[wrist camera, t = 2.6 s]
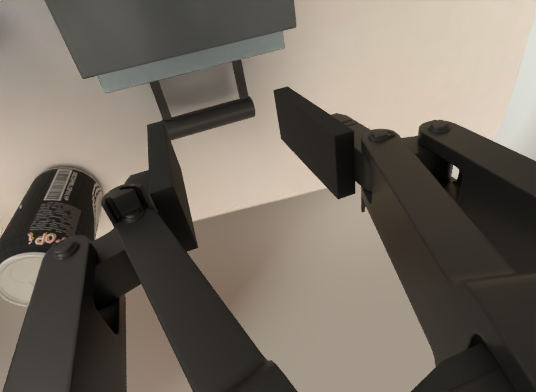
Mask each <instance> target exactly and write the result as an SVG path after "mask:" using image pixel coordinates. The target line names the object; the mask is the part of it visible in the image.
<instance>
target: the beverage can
mask: <svg viewBox="0 0 536 392" xmlns="http://www.w3.org/2000/svg"><path fill="white" fill-rule="evenodd" d="M102 198H103V195H102V190H101V187H100V186H99V184H98V182H97V181H96V180H95V179H94V178H93V177H91V176H90V175H89V174H87V173H85V172H83V171H81V170H78V169H74V168H68V167H59V168H53V169H50V170H47V171H45V172H43V173H41V174H40V175H39V176H38V177H36V178H35V180H34V181H33V183H32V185H31V186H30V188H29V190H28V191H27V193H26V195H25V197H24V198H23V200H22V202H21V204H20V205H19V207H18V209H17V210H16V212H15V214H14V216H13V217H12V219H11V221H10V223H9V224H8V226H7V228H6V229H5V231H4V233H3V235H2V236H1V238H0V296H1V297H2V298H3V299H5V300H6V301H8V302H11V303H13V304H15V305H20V306H25V307H28V305H29V302H30V299H31V296H32V292H33V289H34V286H35V282H36V279H37V276H38V272H39V269H40V266H41V262H42V259H43V257H44V255H45V253H46V252H47V251H48V250H49V249H50V248H51V247H52V246H53V245H54V244H56V243H58V242H59V241H61V240H63V239H66V238H68V237H71V236H76V235H84V236H86V237H88V238H89V240H90V241H91V242H92V241H94V240H95V236H96V231H97V226H98V221H99V216H100V211H101V200H102Z"/></svg>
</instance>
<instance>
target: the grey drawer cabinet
mask: <svg viewBox="0 0 536 392" xmlns="http://www.w3.org/2000/svg"><path fill="white" fill-rule="evenodd" d="M45 2H46V4H47V6H48V8H49V10H50V12H51V14H52V16H53V18H54V21H55V23H56V25H57V27H58V29H59V31H60V33H61V35H62V37H63V39H64V41H65V43H66V45H67V47H68V50H69V52H70V54H71V56H72V58H73V60H74V62H75V64H76V66H77V68H78V70H79V72H80V74H81V76H82V78H83V79H86V78H90V77H94V76H98V75H102V74H106V73H111V72H115V71H119V70H123V69H127V68H131V67H135V66H139V65H144V64H148V63H152V62H156V61H160V60H164V59H168V58H172V57H176V56H181V55H185V54H189V53H193V52H197V51H201V50H205V49H209V48H214V47H218V46H222V45H226V44H230V43H234V42H238V41H242V40H247V39H251V38H255V37H259V36H263V35H267V34H271V33H275V32H279V31H284V30H288V29H292V28H295V27H296V17H295V8H294V0H45Z"/></svg>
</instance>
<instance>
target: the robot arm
mask: <svg viewBox="0 0 536 392" xmlns="http://www.w3.org/2000/svg"><path fill="white" fill-rule="evenodd" d="M274 96H275V103H276V109H277V115H278V122H279V128H280V134H281V139H282V140H283V141H284V142H285V143H286V144H287V146H288V147H289V148H290V149H291V150H292V151H293V152H294V153H295V154H296V155H297V156H298V157H299V158H300V159H301V160H302V161H303V163H304V164H305V165H306V166H307V167H308V168H309V169H310V170H311V171H312V172H313V173H314V174H315V175H316V176H317V177H318V178H319V180H320V181H321V182H322V183H323V184H324V185H325V186H326V187H327V188H328V189H329V190H330V191H331V192H332V193H333V194H334V195H335V196H336V198H337V199H340V198H343V197H346V196H349V195H352V194H355V181H356V182H357V183H358V184H360V185H361V210H362V212H364V211H365V207H367V209H368V212H369V214H370V216H371V218H372V220H373V222H374V225H375V227H376V229H377V231H378V233H379V235H380V238H381V240H382V242H383V244H384V246H385V248H386V251H387V253H388V255H389V257H390V259H391V262H392V264H393V266H394V268H395V270H396V272H397V274H398V277H399V279H400V281H401V283H402V285H403V288H404V290H405V292H406V294H407V296H408V298H409V301H410V303H411V305H412V307H413V309H414V311H415V313H416V316H417V318H418V320H419V322H420V324H421V327H422V329H423V331H424V333H425V335H426V337H427V339H428V342H429V344H430V346H431V349H432V351H433V355H434V358H435V364H436V368H435V369H434V370H433V371H432V372H431V373H430V374H429V375H428V376H427V377H426V378H425V379H424V380H422V381H421V382H420V383H419V384H418V386H416V387H415V388H414V389H413V390H412V391H411V392H536V161H534V160H532V159H530V158H528V157H526V156H524V155H521V154H519V153H517V152H515V151H513V150H510V149H508V148H506V147H504V146H502V145H500V144H498V143H495V142H493V141H491V140H489V139H487V138H485V137H483V136H481V135H478V134H476V133H474V132H472V131H470V130H468V129H466V128H463V127H461V126H459V125H457V124H455V123H452V122H448V121H443V120H438V121H437V120H433V121H430V122H426V123H423V124H422V125H421V126H420V127H419V133H418V136H414V137H406V138H401V137H400V136H399V135H398V134H397V133H396V132H394V131H392V130H388V129H374V130H369V129H368V128H366V127H365V126H363V125H361V124H360V123H359V124H358V122H356V121H355V120H353V119H351V118H350V117H348V116H346V115H342V114H338V113H336V114H333V115H330V114H328V113H327V112H325V111H324V110H322V109H321V108H319V107H318V106H316V105H315V104H313V103H312V102H310V101H309V100H307V99H306V98H304V97H302V96H301V95H299V94H298V93H296V92H295V91H293V90H292V89H290V88H289V87H284V88H280V89H277V90H274ZM147 132H148V160H149V170H147V171H144V172H140V173H137V174H134V175H130V177H129V178H128V179H127V181H126V182H125V184H124V185H121V186H118V187H116V188H114V189H112V190H110V191H109V192H108V193H107V194H105V195H104V197H103V198H102V200H101V205H102V207H103V208H104V210H105V212H106V213H107V215H108V217H109V219H110V220H111V222H112V224H113V226H114V229H113V230H111V231H110V232H109V233H107V234H105V235H104V236H102V237H100V238H98V239H96V240H94V241H92V242H91V241H90V240H89V238H88V237H86V236H84V235H76V236H71V237H68V238H66V239H63V240H61V241H59V242H58V243H56V244H54V245H53V246H52V247H51V248H50V249H49V250H48V251H47V252H46V253H45V255H44V257H43V259H42V262H41V266H40V269H39V272H38V276H37V279H36V282H35V286H34V289H33V292H32V296H31V299H30V302H29V305H28V309H27V312H26V315H25V319H24V322H23V326H22V329H21V332H20V335H19V339H18V342H17V345H16V349H15V352H14V355H13V358H12V362H11V365H10V369H9V372H8V375H7V378H6V382H5V385H4V388H3V392H126V391H127V389H126V388H127V386H126V301H125V299H126V297H125V293H127V292H129V291H130V290H132V289H133V288H135V287H137V286H138V285H140V284H142V286H143V288H144V290H145V292H146V294H147V297H148V299H149V301H150V303H151V305H152V307H153V309H154V311H155V313H156V315H157V317H158V320H159V322H160V324H161V326H162V328H163V330H164V332H165V334H166V336H167V338H168V340H169V342H170V344H171V347H172V349H173V351H174V353H175V355H176V357H177V359H178V361H179V363H180V365H181V367H182V369H183V372H184V374H185V376H186V378H187V380H188V382H189V384H190V386H191V388H192V390H193V392H297V391H296V389H295V388H294V386H293V385H292V384H291V383H290V381H289V380H288V379H287V377H286V376H285V375H284V373H283V372H282V371H281V370H280V369H279V367H278V366H277V365H276V364H275V363H274V362H273V361H268V360H267V359H266V358H265V357H264V356H263V355H262V354H261V353H260V351H259V350H258V348H257V347H256V346H255V344H254V343H253V341H252V340H251V339H250V337H249V336H248V335H247V333H246V332H245V331H244V330H243V328H242V327H241V325H240V324H239V323H238V321H237V320H236V318H235V317H234V316H233V314H232V313H231V312H230V310H229V309H228V308H227V306H226V305H225V304H224V302H223V301H222V300H221V298H220V297H219V295H218V294H217V293H216V291H215V290H214V289H213V287H212V286H211V285H210V283H209V282H208V280H207V279H206V278H205V276H204V275H203V274H202V272H201V271H200V270H199V269H198V267H197V266H196V264H195V263H194V262H193V260H192V259H191V258H190V256H189V255H188V253H187V251H190V250H193V249H196V248H198V245H197V241H196V237H195V232H194V227H193V222H192V218H191V213H190V208H189V204H188V199H187V195H186V190H185V185H184V181H183V176H182V172H181V168H180V165H179V162H178V160H177V157H176V154H175V152H174V149H173V146H172V144H171V141H170V138H169V136H168V133H167V130H166V127H165V125H164V122H163V121H160V122H156V123H153V124H149V125H147ZM453 165H454V166H456V167H457V168H458V169H459V175H458V179H454V178H453V177H451V174H452V169H453Z"/></svg>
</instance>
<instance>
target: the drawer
mask: <svg viewBox="0 0 536 392" xmlns="http://www.w3.org/2000/svg"><path fill="white" fill-rule="evenodd" d="M284 48H285V45H284V38H283V31H279V32H275V33H271V34H267V35H263V36H259V37H255V38H251V39H247V40H242V41H238V42H234V43H230V44H226V45H222V46H218V47H214V48H209V49H205V50H201V51H197V52H193V53H189V54H185V55H181V56H176V57H172V58H168V59H164V60H160V61H156V62H152V63H148V64H144V65H139V66H135V67H131V68H127V69H123V70H119V71H115V72H111V73H106V74H102V75H98V76H97V77H98V79H99V81H100V83H101V85H102V88H103V90H104V92H105V93H109V92H113V91H117V90H121V89H125V88H129V87H133V86H137V85H141V84H145V83H149V82H150V85H151V88H152V91H153V93H154V96H155V99H156V101H157V104H158V107H159V109H160V112H161V115H162V118H163V120H162V121H163V122H164V125H165V127H166V130H167V133H168V136H169V138H170V140H174V139H177V138H181V137H184V136H188V135H191V134H195V133H198V132H202V131H205V130H209V129H212V128H216V127H219V126H223V125H226V124H230V123H233V122H237V121H240V120H244V119H247V118H251V117H254V116H255V108H254V104H253V101H252V99H251V97H249V96H248V93H247V88H246V83H245V78H244V73H243V68H242V63H241V59H244V58H248V57H252V56H256V55H260V54H264V53H268V52H272V51H276V50H280V49H284ZM228 62H232V65H233V70H234V74H235V79H236V84H237V88H238V93H239V97H240V99H237V100H233V101H230V102H226V103H222V104H219V105H215V106H211V107H208V108H204V109H200V110H197V111H193V112H190V113H186V114H182V115H179V116H175V117H171V114H170V112H169V109H168V106H167V103H166V100H165V98H164V95H163V92H162V89H161V86H160V83H159V81H158V80H161V79H165V78H169V77H173V76H177V75H181V74H185V73H189V72H193V71H196V70H200V69H204V68H208V67H212V66H216V65H220V64H224V63H228Z"/></svg>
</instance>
